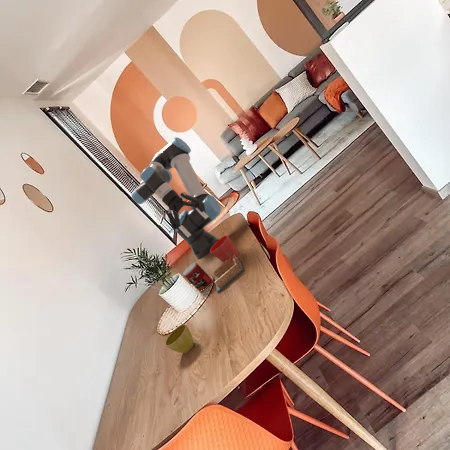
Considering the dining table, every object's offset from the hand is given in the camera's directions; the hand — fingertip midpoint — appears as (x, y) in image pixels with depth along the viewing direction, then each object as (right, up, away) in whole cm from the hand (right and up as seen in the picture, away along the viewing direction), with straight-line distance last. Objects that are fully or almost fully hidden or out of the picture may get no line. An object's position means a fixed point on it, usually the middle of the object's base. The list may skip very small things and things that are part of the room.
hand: (198, 227), depth 233 cm
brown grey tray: (+14, -20, -23) cm, 33 cm away
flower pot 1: (-1, -44, -52) cm, 68 cm away
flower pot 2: (+16, -14, -8) cm, 23 cm away
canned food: (+4, -26, -10) cm, 28 cm away
